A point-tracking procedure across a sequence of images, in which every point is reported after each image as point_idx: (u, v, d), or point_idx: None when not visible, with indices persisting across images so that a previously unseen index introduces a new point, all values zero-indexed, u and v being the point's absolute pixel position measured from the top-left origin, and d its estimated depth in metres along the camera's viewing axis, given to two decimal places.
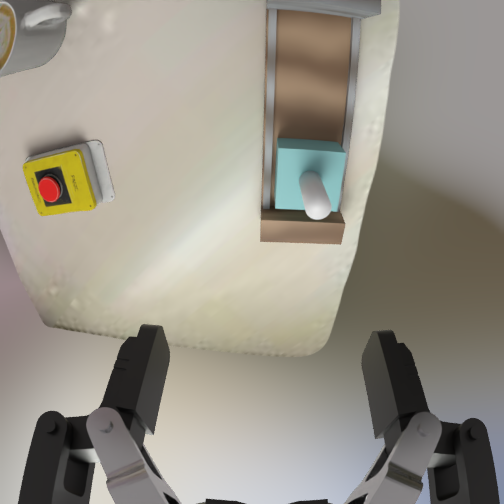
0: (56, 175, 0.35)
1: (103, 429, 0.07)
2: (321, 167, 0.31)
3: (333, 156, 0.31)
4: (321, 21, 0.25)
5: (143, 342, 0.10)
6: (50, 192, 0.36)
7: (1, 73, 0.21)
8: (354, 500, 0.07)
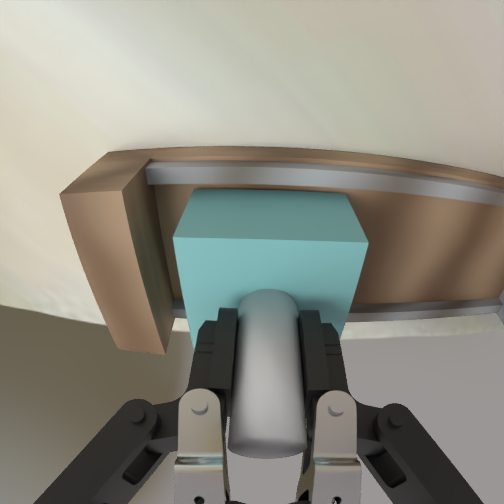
0: None
1: (196, 410, 0.08)
2: None
3: None
4: None
5: (225, 324, 0.11)
6: None
7: None
8: (302, 495, 0.07)
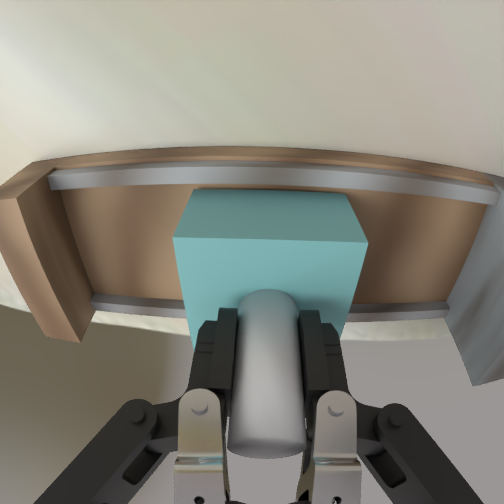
0: None
1: (196, 410, 0.08)
2: None
3: None
4: (452, 264, 0.17)
5: (225, 324, 0.11)
6: None
7: None
8: (302, 495, 0.07)
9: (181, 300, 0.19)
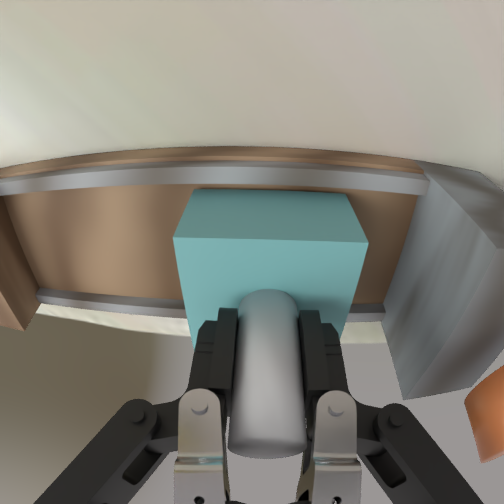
0: None
1: (196, 411, 0.08)
2: None
3: None
4: (381, 263, 0.17)
5: (225, 324, 0.11)
6: None
7: None
8: (302, 495, 0.07)
9: (107, 294, 0.19)
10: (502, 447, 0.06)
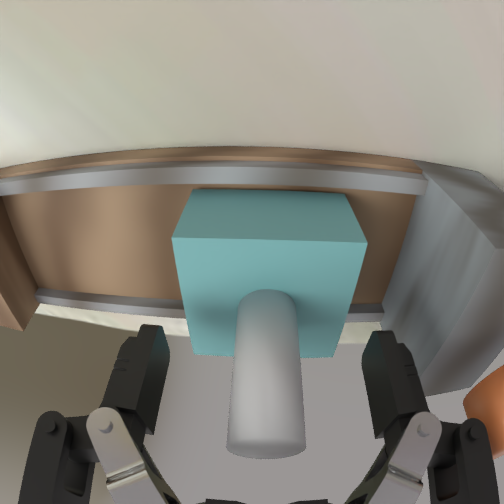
0: None
1: (103, 429, 0.07)
2: (303, 327, 0.14)
3: (327, 342, 0.14)
4: (380, 263, 0.17)
5: (143, 342, 0.10)
6: None
7: None
8: (354, 500, 0.07)
9: (106, 294, 0.19)
10: (501, 448, 0.06)
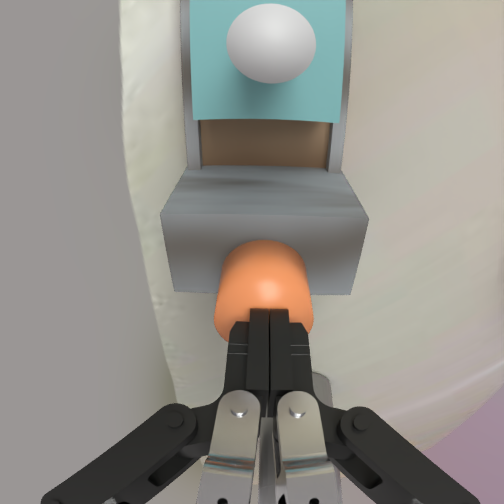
0: None
1: (236, 412, 0.08)
2: (243, 81, 0.13)
3: (219, 108, 0.14)
4: (252, 150, 0.19)
5: (258, 325, 0.11)
6: None
7: None
8: (280, 499, 0.07)
9: None
10: (280, 289, 0.11)
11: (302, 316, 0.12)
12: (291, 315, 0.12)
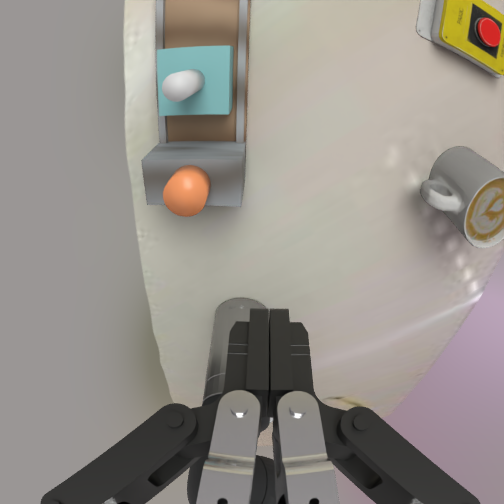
0: (476, 36, 0.22)
1: (236, 412, 0.08)
2: None
3: (171, 110, 0.28)
4: (194, 132, 0.33)
5: (257, 324, 0.11)
6: (489, 28, 0.20)
7: (496, 174, 0.26)
8: (280, 499, 0.07)
9: None
10: (188, 178, 0.27)
11: (200, 193, 0.27)
12: (195, 192, 0.27)
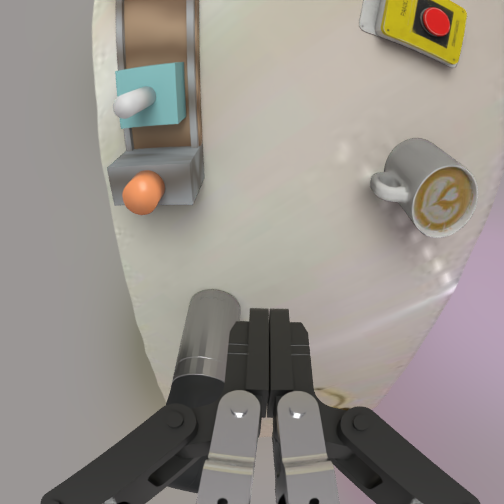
0: (422, 27, 0.25)
1: (235, 412, 0.08)
2: (138, 111, 0.31)
3: (130, 123, 0.31)
4: (156, 140, 0.37)
5: (258, 325, 0.11)
6: (436, 18, 0.23)
7: (445, 163, 0.29)
8: (280, 499, 0.07)
9: (124, 19, 0.27)
10: (141, 182, 0.30)
11: (152, 194, 0.31)
12: (147, 194, 0.31)
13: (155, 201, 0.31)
